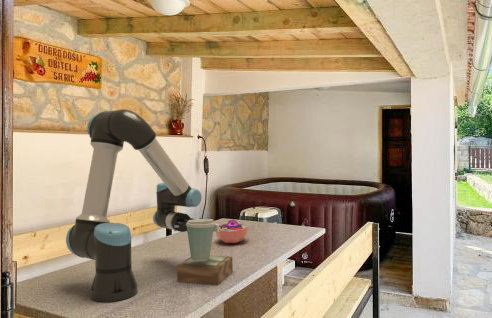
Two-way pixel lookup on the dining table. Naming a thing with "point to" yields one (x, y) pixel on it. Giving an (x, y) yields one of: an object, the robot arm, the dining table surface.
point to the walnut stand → (205, 270)
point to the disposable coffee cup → (200, 238)
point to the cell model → (232, 232)
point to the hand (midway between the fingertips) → (213, 229)
